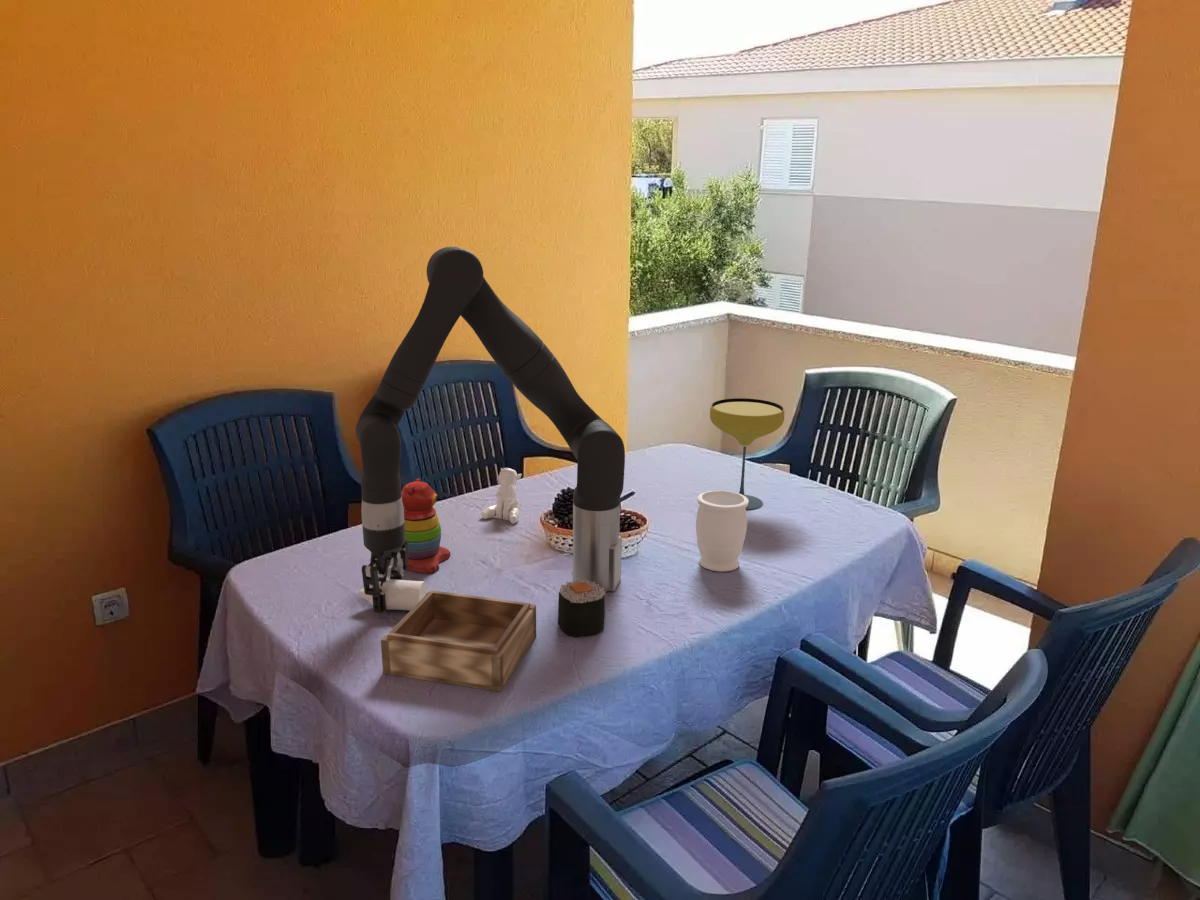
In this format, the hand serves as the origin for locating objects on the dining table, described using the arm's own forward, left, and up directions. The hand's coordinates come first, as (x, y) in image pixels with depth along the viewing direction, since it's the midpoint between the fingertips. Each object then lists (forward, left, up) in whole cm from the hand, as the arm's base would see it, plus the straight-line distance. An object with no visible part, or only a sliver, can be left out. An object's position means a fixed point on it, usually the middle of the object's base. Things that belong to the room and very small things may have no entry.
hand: (388, 602), depth 167 cm
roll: (-1, 0, -1) cm, 1 cm away
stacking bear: (+3, -21, -1) cm, 21 cm away
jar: (-58, -37, -1) cm, 69 cm away
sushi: (-37, -3, -1) cm, 37 cm away
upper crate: (-20, +12, -1) cm, 23 cm away
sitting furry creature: (-5, -51, -1) cm, 51 cm away
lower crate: (-20, +12, -1) cm, 23 cm away
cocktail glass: (-59, -76, -1) cm, 96 cm away
